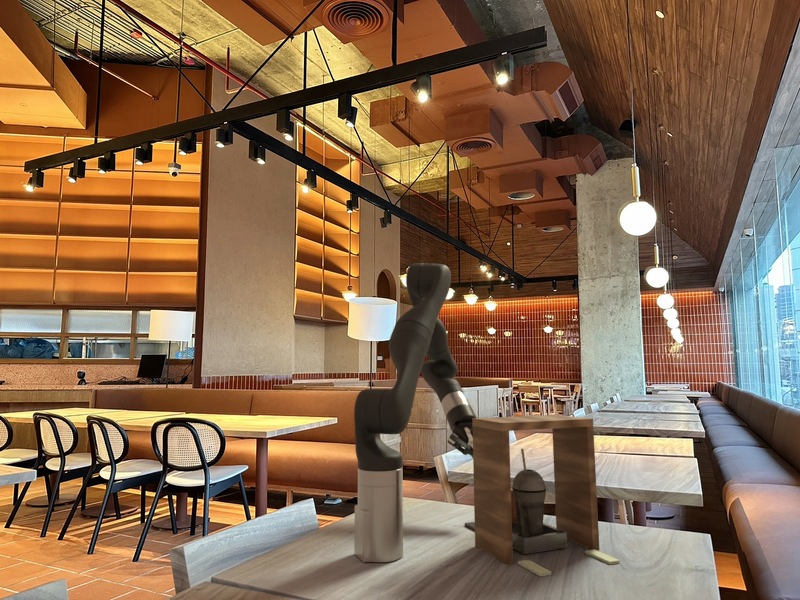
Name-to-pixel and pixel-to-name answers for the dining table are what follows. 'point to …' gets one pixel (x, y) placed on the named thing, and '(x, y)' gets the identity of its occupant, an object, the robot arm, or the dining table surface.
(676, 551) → the dining table surface
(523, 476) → the beverage cup
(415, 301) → the robot arm
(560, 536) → the shallow grey tray
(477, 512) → the tunnel
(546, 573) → the pair of cream slabs
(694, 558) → the dining table surface
